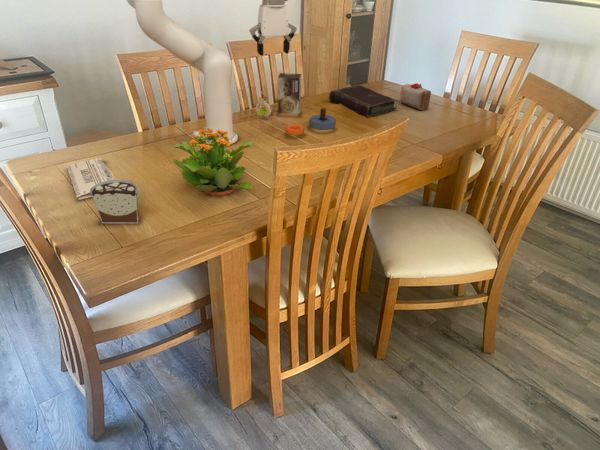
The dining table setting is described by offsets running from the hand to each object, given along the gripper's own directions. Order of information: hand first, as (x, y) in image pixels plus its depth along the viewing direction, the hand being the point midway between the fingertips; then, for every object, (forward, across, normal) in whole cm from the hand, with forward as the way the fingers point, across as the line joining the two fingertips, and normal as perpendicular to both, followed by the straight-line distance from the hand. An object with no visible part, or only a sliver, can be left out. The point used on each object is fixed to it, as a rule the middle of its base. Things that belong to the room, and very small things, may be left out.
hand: (273, 53), depth 166 cm
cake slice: (+28, +62, +44) cm, 81 cm away
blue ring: (+27, -18, +6) cm, 33 cm away
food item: (+28, -70, -4) cm, 76 cm away
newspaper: (+28, +67, +18) cm, 75 cm away
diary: (+28, -48, -12) cm, 57 cm away
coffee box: (+28, -13, -14) cm, 34 cm away
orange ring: (+28, -5, +8) cm, 30 cm away
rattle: (+28, -3, -14) cm, 32 cm away
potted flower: (+28, +34, +39) cm, 59 cm away
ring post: (+28, -18, +6) cm, 34 cm away
